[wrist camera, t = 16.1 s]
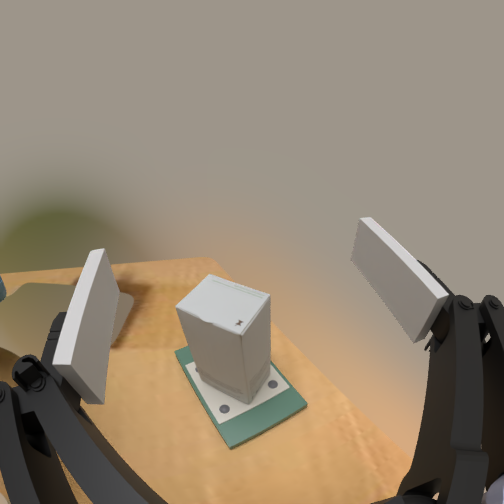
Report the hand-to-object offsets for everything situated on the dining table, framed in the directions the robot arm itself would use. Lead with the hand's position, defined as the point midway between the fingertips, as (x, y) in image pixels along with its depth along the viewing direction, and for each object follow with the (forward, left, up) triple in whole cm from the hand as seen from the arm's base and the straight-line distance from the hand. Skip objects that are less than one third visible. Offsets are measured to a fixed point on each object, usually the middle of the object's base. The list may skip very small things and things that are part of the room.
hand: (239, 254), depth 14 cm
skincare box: (+8, +5, -28) cm, 29 cm away
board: (+8, +5, -29) cm, 31 cm away
